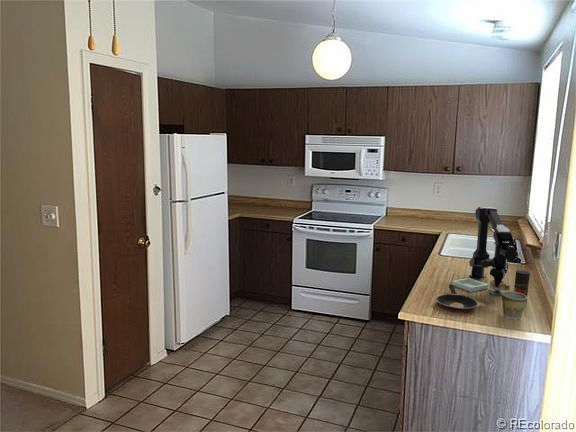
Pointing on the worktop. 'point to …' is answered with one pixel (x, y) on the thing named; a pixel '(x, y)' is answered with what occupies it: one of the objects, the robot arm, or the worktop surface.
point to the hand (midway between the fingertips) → (497, 285)
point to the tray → (470, 284)
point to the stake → (496, 291)
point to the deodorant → (522, 282)
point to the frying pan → (456, 301)
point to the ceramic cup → (513, 304)
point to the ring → (501, 287)
